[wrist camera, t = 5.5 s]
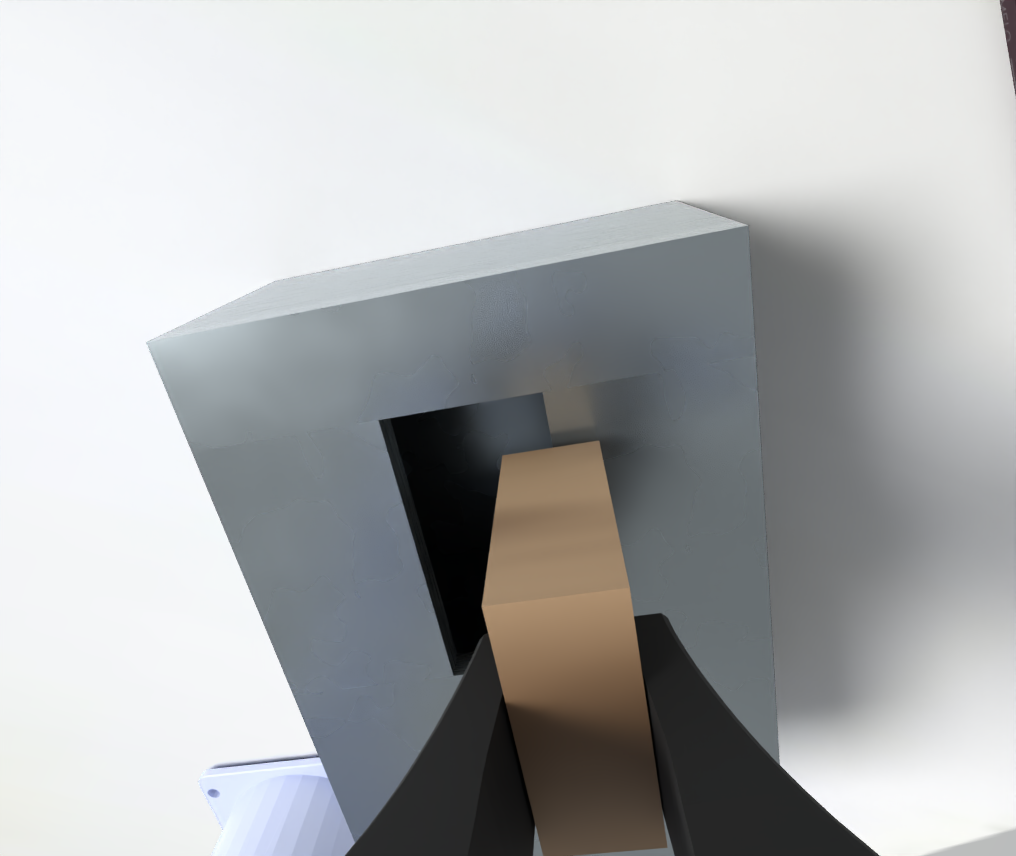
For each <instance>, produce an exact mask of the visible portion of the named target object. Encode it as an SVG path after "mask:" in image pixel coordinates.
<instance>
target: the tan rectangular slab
mask: <svg viewBox="0 0 1016 856" xmlns="http://www.w3.org/2000/svg"><path fill="white" fill-rule="evenodd" d="M482 610H483V614H484V618H485V622H486V626H487V630H488V634H489V638H490V642H491V646H492V650H493V654H494V658H495V663H496V667H497V671H498V675H499V679H500V683H501V687H502V691H503V695H504V699H505V703H506V707H507V711H508V715H509V719H510V723H511V727H512V732H513V736H514V740H515V744H516V748H517V752H518V756H519V760H520V764H521V768H522V772H523V776H524V780H525V784H526V788H527V792H528V796H529V801H530V805H531V809H532V813H533V817H534V821H535V825H536V829H537V833H538V837H539V841H540V845H541V849H542V853H543V856H575V855H587V854H599V853H611V852H623V851H635V850H647V849H659V848H668V847H667V840H666V833H665V826H664V819H663V812H662V805H661V799H660V792H659V785H658V778H657V771H656V764H655V758H654V751H653V744H652V737H651V730H650V723H649V716H648V710H647V703H646V696H645V689H644V682H643V675H642V669H641V662H640V655H639V648H638V641H637V634H636V627H635V621H634V614H633V607H632V600H631V593H630V587H629V582H628V577H627V572H626V568H625V563H624V558H623V553H622V548H621V544H620V539H619V534H618V529H617V524H616V519H615V515H614V510H613V505H612V500H611V495H610V491H609V486H608V481H607V476H606V471H605V467H604V462H603V457H602V452H601V447H600V443H599V441H593V442H586V443H580V444H573V445H567V446H560V447H554V448H548V449H541V450H535V451H528V452H522V453H515V454H509V455H502V462H501V470H500V477H499V484H498V492H497V499H496V506H495V514H494V521H493V528H492V535H491V543H490V550H489V557H488V565H487V572H486V579H485V586H484V594H483V601H482Z"/></svg>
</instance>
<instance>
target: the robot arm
mask: <svg viewBox="0 0 1016 856" xmlns="http://www.w3.org/2000/svg"><path fill="white" fill-rule="evenodd" d="M634 621H635V627H636V634H637V641H638V648H639V655H640V662H641V669H642V675H643V682H644V689H645V696H646V703H647V710H648V716H649V723H650V730H651V737H652V744H653V751H654V758H655V764H656V771H657V778H658V785H659V792H660V799H661V805H662V811H663V815H664V818H665V822H666V826H667V829H668V833H669V837H670V841H671V844H672V848H673V852H674V855H675V856H879V855H878V854H877V853H876V852H875V851H873V850H872V849H871V848H870V847H869V846H867V845H866V844H865V843H864V842H863V841H862V840H860V839H859V838H858V837H857V836H856V835H854V834H853V833H852V832H851V831H850V830H848V829H847V828H846V827H845V826H844V825H843V824H841V823H840V822H839V821H838V820H837V819H835V818H834V817H833V816H832V815H831V814H830V813H829V812H828V811H827V810H826V809H825V808H823V807H822V806H821V805H820V804H819V803H818V802H817V801H816V800H815V799H814V798H813V797H812V796H811V795H810V794H808V793H807V792H806V791H805V790H804V789H803V788H802V787H801V786H800V785H799V784H798V783H797V782H796V781H795V780H794V779H793V778H792V777H791V776H790V775H789V774H788V773H787V772H786V771H785V770H784V769H783V768H782V767H781V766H780V765H779V764H778V763H777V762H776V761H775V760H774V759H773V758H772V757H771V755H770V754H769V753H768V752H767V751H766V750H765V749H764V748H763V747H762V746H761V745H760V744H759V742H758V741H757V740H756V739H755V738H754V737H753V736H752V735H751V733H750V732H749V731H748V730H747V729H746V728H745V727H744V725H743V724H742V723H741V722H740V721H739V720H738V718H737V717H736V716H735V715H734V714H733V712H732V711H731V710H730V709H729V708H728V706H727V705H726V704H725V703H724V701H723V700H722V699H721V697H720V696H719V695H718V694H717V692H716V691H715V690H714V688H713V687H712V686H711V684H710V683H709V682H708V681H707V679H706V678H705V677H704V675H703V674H702V672H701V671H700V670H699V668H698V667H697V665H696V664H695V663H694V661H693V660H692V658H691V657H690V655H689V654H688V652H687V651H686V649H685V647H684V646H683V644H682V643H681V641H680V639H679V638H678V636H677V634H676V633H675V631H674V629H673V627H672V625H671V623H670V621H669V619H668V617H666V616H665V615H663V614H662V613H656V614H648V615H640V616H634ZM198 783H199V786H200V788H201V790H202V792H203V793H204V795H205V797H206V799H207V801H208V803H209V805H210V807H211V809H212V811H213V813H214V815H215V816H216V818H217V820H218V822H219V824H220V826H221V828H222V830H223V831H222V833H221V835H220V837H219V839H218V842H217V844H216V846H215V848H214V850H213V852H212V854H211V856H533V850H534V835H535V821H534V817H533V813H532V809H531V805H530V801H529V796H528V792H527V788H526V784H525V780H524V776H523V772H522V768H521V764H520V760H519V756H518V752H517V748H516V744H515V740H514V736H513V732H512V727H511V723H510V719H509V715H508V711H507V707H506V703H505V699H504V695H503V691H502V687H501V683H500V679H499V675H498V671H497V667H496V663H495V658H494V654H493V650H492V646H491V642H490V638H489V634H484V635H483V636H482V638H481V639H480V640H479V642H478V645H477V647H476V649H475V651H474V654H473V656H472V658H471V660H470V662H469V664H468V666H467V668H466V671H465V673H464V675H463V677H462V679H461V681H460V683H459V684H458V686H457V688H456V690H455V692H454V694H453V696H452V698H451V700H450V702H449V703H448V705H447V707H446V709H445V711H444V712H443V714H442V716H441V718H440V720H439V721H438V723H437V725H436V727H435V729H434V730H433V732H432V734H431V735H430V737H429V739H428V740H427V742H426V743H425V745H424V747H423V748H422V750H421V751H420V753H419V755H418V756H417V758H416V759H415V761H414V763H413V764H412V766H411V767H410V769H409V771H408V772H407V774H406V775H405V777H404V778H403V779H402V781H401V782H400V784H399V785H398V787H397V788H396V790H395V791H394V793H393V794H392V795H391V797H390V798H389V800H388V801H387V802H386V804H385V805H384V806H383V808H382V809H381V810H380V812H379V813H378V814H377V816H376V817H375V818H374V820H373V821H372V822H371V824H370V825H369V826H368V828H367V829H366V830H365V831H364V833H363V834H362V835H361V836H360V837H359V839H358V840H357V841H356V842H354V839H353V837H352V834H351V832H350V830H349V827H348V825H347V822H346V820H345V818H344V815H343V813H342V810H341V808H340V806H339V803H338V801H337V798H336V796H335V794H334V791H333V789H332V786H331V784H330V782H329V779H328V777H327V774H326V772H325V770H324V767H323V765H322V763H321V760H320V758H319V757H318V758H309V759H299V760H290V761H281V762H272V763H262V764H253V765H244V766H235V767H225V768H216V769H209V770H205V771H204V772H203V773H202V775H201V777H200V778H199V781H198Z"/></svg>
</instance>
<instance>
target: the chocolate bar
mask: <svg viewBox="0 0 1016 856" xmlns="http://www.w3.org/2000/svg"><path fill="white" fill-rule="evenodd" d="M1000 5H1001V11H1002V17H1003V23H1004V29H1005V35H1006V41H1007V46H1008V52H1009V58H1010V64H1011V70H1012V76H1013V82H1014V88H1015V94H1016V0H1000Z"/></svg>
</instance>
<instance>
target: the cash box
mask: <svg viewBox="0 0 1016 856" xmlns="http://www.w3.org/2000/svg"><path fill="white" fill-rule="evenodd" d="M146 343H147V345H148V348H149V350H150V353H151V355H152V357H153V360H154V362H155V365H156V367H157V369H158V372H159V374H160V377H161V379H162V381H163V384H164V386H165V389H166V391H167V393H168V396H169V398H170V401H171V403H172V405H173V408H174V410H175V413H176V415H177V417H178V420H179V422H180V425H181V427H182V429H183V432H184V434H185V437H186V439H187V441H188V444H189V446H190V448H191V451H192V453H193V456H194V458H195V460H196V463H197V465H198V468H199V470H200V472H201V475H202V477H203V480H204V482H205V484H206V487H207V489H208V492H209V494H210V496H211V499H212V501H213V504H214V506H215V508H216V511H217V513H218V516H219V518H220V520H221V523H222V525H223V528H224V530H225V532H226V535H227V537H228V540H229V542H230V544H231V547H232V549H233V552H234V554H235V556H236V559H237V561H238V564H239V566H240V568H241V571H242V573H243V576H244V578H245V580H246V583H247V585H248V588H249V590H250V592H251V595H252V597H253V600H254V602H255V604H256V607H257V609H258V611H259V614H260V616H261V619H262V621H263V623H264V626H265V628H266V631H267V633H268V635H269V638H270V640H271V643H272V645H273V647H274V650H275V652H276V655H277V657H278V659H279V662H280V664H281V667H282V669H283V671H284V674H285V676H286V679H287V681H288V683H289V686H290V688H291V691H292V693H293V695H294V698H295V700H296V703H297V705H298V707H299V710H300V712H301V715H302V717H303V719H304V722H305V724H306V727H307V729H308V731H309V734H310V736H311V739H312V741H313V743H314V746H315V748H316V751H317V753H318V755H319V758H320V760H321V763H322V765H323V767H324V770H325V772H326V774H327V777H328V779H329V782H330V784H331V786H332V789H333V791H334V794H335V796H336V798H337V801H338V803H339V806H340V808H341V810H342V813H343V815H344V818H345V820H346V822H347V825H348V827H349V830H350V832H351V834H352V837H353V839H354V842H356V841H357V840H358V839H359V837H360V836H361V835H362V834H363V833H364V831H365V830H366V829H367V828H368V826H369V825H370V824H371V822H372V821H373V820H374V818H375V817H376V816H377V814H378V813H379V812H380V810H381V809H382V808H383V806H384V805H385V804H386V802H387V801H388V800H389V798H390V797H391V795H392V794H393V793H394V791H395V790H396V788H397V787H398V785H399V784H400V782H401V781H402V779H403V778H404V777H405V775H406V774H407V772H408V771H409V769H410V767H411V766H412V764H413V763H414V761H415V759H416V758H417V756H418V755H419V753H420V751H421V750H422V748H423V747H424V745H425V743H426V742H427V740H428V739H429V737H430V735H431V734H432V732H433V730H434V729H435V727H436V725H437V723H438V721H439V720H440V718H441V716H442V714H443V712H444V711H445V709H446V707H447V705H448V703H449V702H450V700H451V698H452V696H453V694H454V692H455V690H456V688H457V686H458V684H459V683H460V681H461V679H462V677H463V675H464V673H465V671H466V668H467V666H468V664H469V662H470V660H471V658H472V656H473V654H474V651H475V649H476V647H477V645H478V642H479V640H480V639H481V638H482V636H483V635H484V634H488V630H487V626H486V622H485V618H484V614H483V610H482V601H483V594H484V586H485V579H486V572H487V565H488V557H489V550H490V543H491V535H492V528H493V521H494V514H495V506H496V499H497V492H498V484H499V477H500V470H501V462H502V455H509V454H515V453H522V452H528V451H535V450H541V449H548V448H554V447H560V446H567V445H573V444H580V443H586V442H593V441H599V443H600V447H601V452H602V457H603V462H604V467H605V471H606V476H607V481H608V486H609V491H610V495H611V500H612V505H613V510H614V515H615V519H616V524H617V529H618V534H619V539H620V544H621V548H622V553H623V558H624V563H625V568H626V572H627V577H628V582H629V587H630V593H631V600H632V607H633V614H634V616H640V615H648V614H656V613H662V614H663V615H665V616H666V617H668V619H669V621H670V623H671V625H672V627H673V629H674V631H675V633H676V634H677V636H678V638H679V639H680V641H681V643H682V644H683V646H684V647H685V649H686V651H687V652H688V654H689V655H690V657H691V658H692V660H693V661H694V663H695V664H696V665H697V667H698V668H699V670H700V671H701V672H702V674H703V675H704V677H705V678H706V679H707V681H708V682H709V683H710V684H711V686H712V687H713V688H714V690H715V691H716V692H717V694H718V695H719V696H720V697H721V699H722V700H723V701H724V703H725V704H726V705H727V706H728V708H729V709H730V710H731V711H732V712H733V714H734V715H735V716H736V717H737V718H738V720H739V721H740V722H741V723H742V724H743V725H744V727H745V728H746V729H747V730H748V731H749V732H750V733H751V735H752V736H753V737H754V738H755V739H756V740H757V741H758V742H759V744H760V745H761V746H762V747H763V748H764V749H765V750H766V751H767V752H768V753H769V754H770V755H771V757H772V758H773V759H774V760H775V761H776V762H777V763H778V764H779V746H778V729H777V712H776V695H775V677H774V660H773V643H772V625H771V608H770V591H769V574H768V556H767V539H766V522H765V505H764V487H763V470H762V453H761V436H760V418H759V401H758V384H757V366H756V349H755V332H754V315H753V297H752V280H751V263H750V246H749V228H748V225H746V224H743V223H740V222H737V221H734V220H731V219H728V218H725V217H723V216H720V215H717V214H714V213H711V212H708V211H705V210H702V209H699V208H696V207H693V206H690V205H688V204H685V203H682V202H679V201H671V202H666V203H661V204H656V205H651V206H646V207H641V208H636V209H631V210H626V211H621V212H616V213H611V214H606V215H601V216H596V217H591V218H586V219H581V220H576V221H572V222H567V223H562V224H557V225H552V226H547V227H542V228H537V229H532V230H527V231H522V232H517V233H512V234H507V235H502V236H497V237H492V238H487V239H482V240H477V241H472V242H467V243H462V244H457V245H452V246H447V247H442V248H437V249H432V250H427V251H422V252H417V253H412V254H407V255H403V256H398V257H393V258H388V259H383V260H378V261H373V262H368V263H363V264H358V265H353V266H348V267H343V268H338V269H333V270H328V271H323V272H318V273H313V274H308V275H303V276H298V277H293V278H288V279H283V280H278V281H274V282H272V283H270V284H268V285H266V286H264V287H262V288H260V289H258V290H255V291H253V292H251V293H249V294H247V295H245V296H243V297H241V298H239V299H236V300H234V301H232V302H230V303H228V304H226V305H224V306H222V307H220V308H217V309H215V310H213V311H211V312H209V313H207V314H205V315H203V316H201V317H198V318H196V319H194V320H192V321H190V322H188V323H186V324H184V325H182V326H179V327H177V328H175V329H173V330H171V331H169V332H167V333H165V334H163V335H160V336H158V337H156V338H154V339H152V340H150V341H148V342H146ZM779 765H780V764H779ZM662 812H663V811H662ZM663 819H664V826H665V833H666V840H667V847H668V848H659V849H647V850H635V851H623V852H611V853H599V854H587V855H575V856H675V855H674V852H673V848H672V844H671V841H670V837H669V833H668V829H667V826H666V822H665V818H664V815H663ZM533 856H543V853H542V849H541V845H540V841H539V837H538V833H537V829H536V825H535V835H534V850H533Z"/></svg>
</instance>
